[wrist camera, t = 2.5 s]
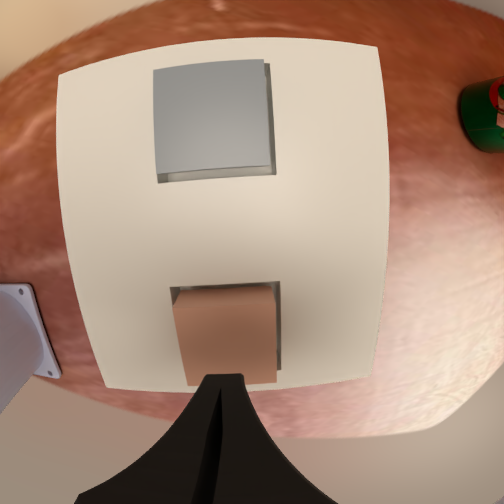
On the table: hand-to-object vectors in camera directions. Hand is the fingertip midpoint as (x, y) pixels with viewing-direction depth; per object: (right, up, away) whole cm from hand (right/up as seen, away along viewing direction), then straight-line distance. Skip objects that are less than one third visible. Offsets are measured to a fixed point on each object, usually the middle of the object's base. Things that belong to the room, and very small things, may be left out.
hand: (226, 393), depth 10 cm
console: (-1, +7, +6) cm, 9 cm away
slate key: (-1, +11, +2) cm, 11 cm away
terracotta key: (0, +1, +4) cm, 5 cm away
